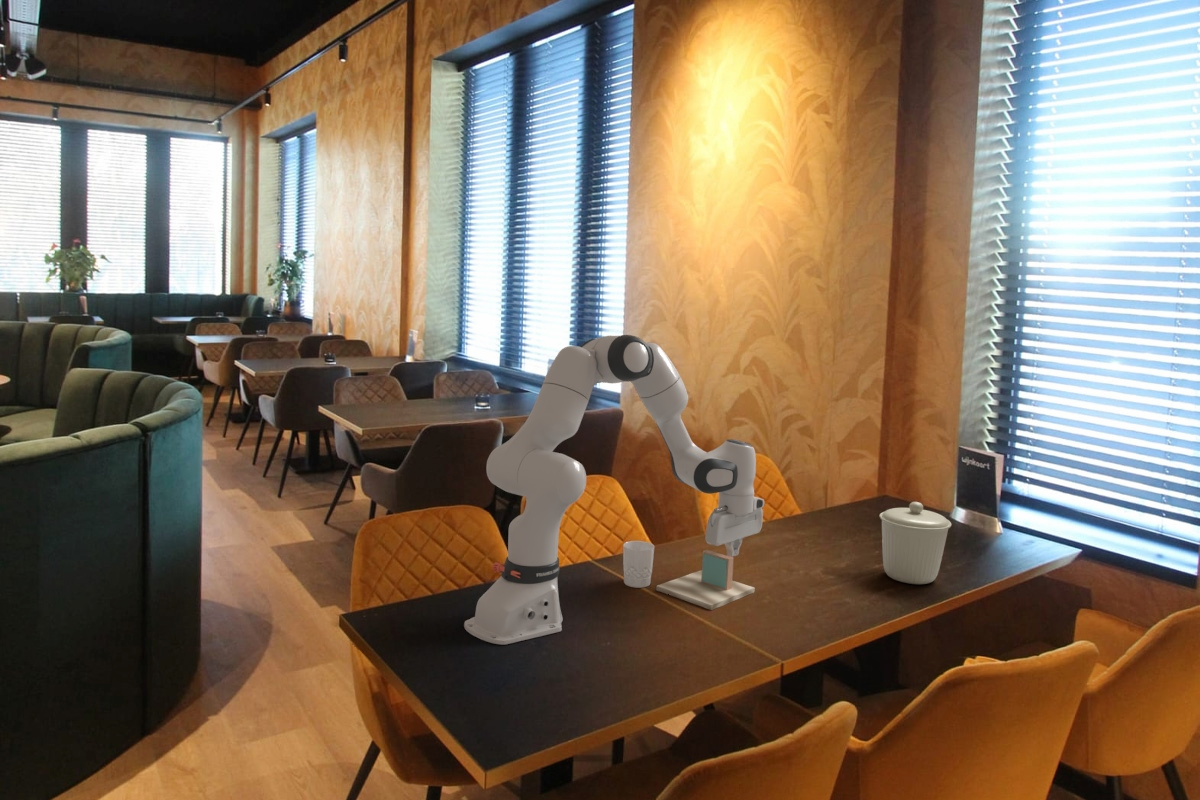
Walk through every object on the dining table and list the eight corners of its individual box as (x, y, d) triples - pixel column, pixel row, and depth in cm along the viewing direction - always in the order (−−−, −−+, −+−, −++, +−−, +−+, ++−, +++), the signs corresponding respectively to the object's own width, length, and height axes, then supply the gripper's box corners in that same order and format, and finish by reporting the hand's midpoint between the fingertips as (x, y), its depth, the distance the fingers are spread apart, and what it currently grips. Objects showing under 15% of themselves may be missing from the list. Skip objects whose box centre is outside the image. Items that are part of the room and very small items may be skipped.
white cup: (650, 590, 213) (651, 551, 211) (619, 586, 214) (620, 548, 213) (654, 579, 220) (656, 542, 219) (624, 576, 222) (626, 539, 220)
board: (711, 610, 201) (711, 605, 201) (656, 590, 213) (656, 585, 213) (754, 592, 214) (754, 587, 214) (700, 574, 226) (700, 570, 225)
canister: (956, 580, 229) (964, 504, 226) (927, 595, 217) (935, 515, 214) (893, 562, 242) (899, 490, 239) (862, 576, 229) (868, 500, 226)
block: (726, 590, 211) (728, 559, 210) (700, 581, 216) (702, 551, 215) (731, 588, 213) (733, 557, 211) (705, 579, 218) (707, 549, 217)
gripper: (721, 512, 207) (718, 567, 209) (768, 499, 222) (764, 550, 223) (701, 506, 211) (697, 560, 213) (748, 494, 226) (744, 545, 228)
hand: (732, 555), depth 218 cm, fingers closed
